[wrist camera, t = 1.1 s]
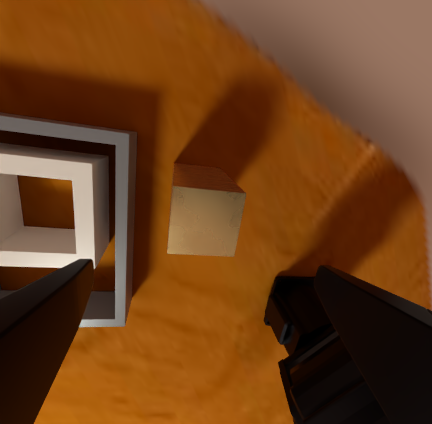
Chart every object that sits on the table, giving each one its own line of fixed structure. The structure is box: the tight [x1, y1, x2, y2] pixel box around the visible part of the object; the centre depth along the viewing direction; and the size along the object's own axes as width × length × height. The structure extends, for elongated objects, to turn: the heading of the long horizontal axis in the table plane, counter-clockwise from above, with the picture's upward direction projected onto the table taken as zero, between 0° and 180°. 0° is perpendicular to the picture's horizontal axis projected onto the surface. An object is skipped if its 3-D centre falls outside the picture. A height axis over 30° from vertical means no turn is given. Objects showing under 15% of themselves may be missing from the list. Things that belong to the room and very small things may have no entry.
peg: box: [167, 163, 246, 256], centre depth 17 cm, size 4×4×8 cm
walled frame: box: [0, 112, 137, 327], centre depth 18 cm, size 12×16×4 cm
